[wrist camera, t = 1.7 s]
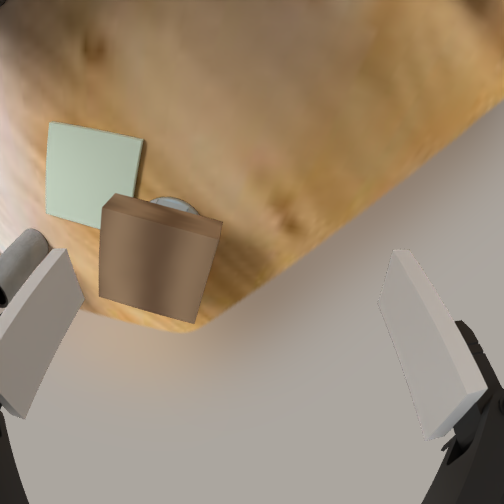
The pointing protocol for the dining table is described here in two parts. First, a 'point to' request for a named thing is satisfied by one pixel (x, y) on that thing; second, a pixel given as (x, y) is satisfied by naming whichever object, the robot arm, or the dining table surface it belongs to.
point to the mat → (88, 170)
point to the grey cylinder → (20, 263)
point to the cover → (155, 256)
